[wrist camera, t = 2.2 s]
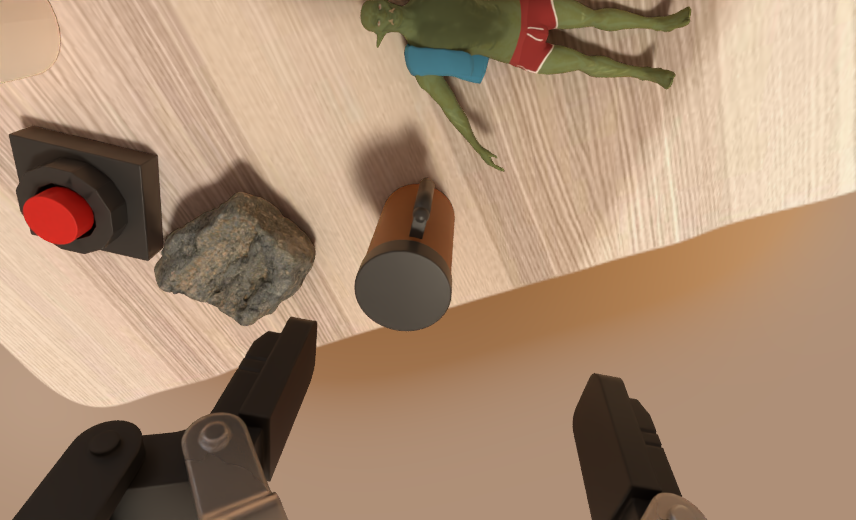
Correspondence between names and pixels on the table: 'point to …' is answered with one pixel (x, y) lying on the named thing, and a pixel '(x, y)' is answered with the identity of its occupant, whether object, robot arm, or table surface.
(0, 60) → the cylindrical container
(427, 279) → the orange canister with lid
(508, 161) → the table surface
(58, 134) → the control block
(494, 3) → the figurine
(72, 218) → the button
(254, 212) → the rock
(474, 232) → the table surface
